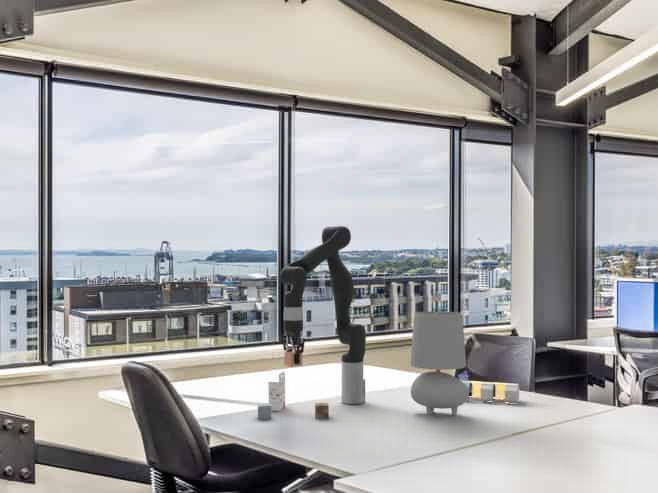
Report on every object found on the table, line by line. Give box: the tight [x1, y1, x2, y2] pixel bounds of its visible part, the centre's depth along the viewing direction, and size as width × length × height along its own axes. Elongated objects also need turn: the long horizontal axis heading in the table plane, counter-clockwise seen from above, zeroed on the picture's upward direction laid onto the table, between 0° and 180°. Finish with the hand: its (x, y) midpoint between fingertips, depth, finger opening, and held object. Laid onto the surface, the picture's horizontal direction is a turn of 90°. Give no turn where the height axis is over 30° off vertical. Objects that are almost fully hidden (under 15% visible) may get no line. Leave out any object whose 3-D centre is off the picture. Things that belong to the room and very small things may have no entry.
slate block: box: [257, 402, 272, 420], centre depth 278 cm, size 5×5×5 cm
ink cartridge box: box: [267, 371, 286, 412], centre depth 294 cm, size 9×5×15 cm, turn 168°
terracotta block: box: [283, 350, 303, 368], centre depth 279 cm, size 5×5×5 cm
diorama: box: [457, 370, 520, 403], centre depth 311 cm, size 25×10×13 cm, turn 70°
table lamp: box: [410, 311, 469, 416], centre depth 284 cm, size 23×22×40 cm
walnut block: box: [314, 402, 330, 420], centre depth 279 cm, size 5×5×5 cm
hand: (293, 362), depth 279 cm, fingers closed on terracotta block, 5 cm apart
